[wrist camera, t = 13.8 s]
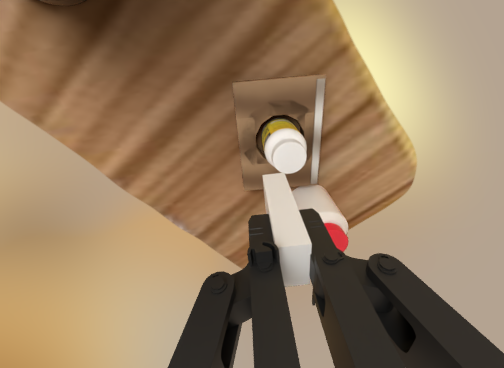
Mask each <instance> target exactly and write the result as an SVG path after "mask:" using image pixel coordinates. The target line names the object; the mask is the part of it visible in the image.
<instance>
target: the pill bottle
mask: <svg viewBox="0 0 504 368" xmlns="http://www.w3.org/2000/svg"><path fill="white" fill-rule="evenodd" d="M292 194H293V197H294V199H295V202H296V204H297V207H298V210H301V209H310V208H313V209H314V210H315V211H316V212H318V213H319V215H320V217H321V219H322V221H323V223H324V225H325V226H326V228H327V230H328V232H329V234H330V236H331V238H332V240H333V242H334V244H335V246H336V248H338V249H339V250H341V251H342V252H343V251H344V250H345V249H346V248H347V246H348V237H347V236H346V235H347V233H348V223H347V221H346V219H345V217H344V216H343V214H342V213H341V211H340V210H339V208H338V207H337V205H336V204H335V202H334V201H333V199H332V198H331V196H330V195H329V193H328V192H327V191H326V189H325V188H323V187H322V186H320V185H309V186H299V187H297V188H296V189H295V190H293V191H292Z"/></svg>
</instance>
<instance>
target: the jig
mask: <svg viewBox="0 0 504 368" xmlns="http://www.w3.org/2000/svg"><path fill="white" fill-rule="evenodd" d="M232 85H233V94H234V104H235V113H236V122H237V131H238V140H239V149H240V158H241V168H242V177H243V186H244V191H249V190H261V189H264V186H263V176H262V175H267V174H276V173H282V172H280V171H278V170H277V169H276V168H275V167H274V166H272V165H271V164H270V163H269V162H268V161H267V159H266V156H265V153H263V152H262V151H261V150H260V149H259V147H258V146H257V144H256V134H257V132H258V130H259V128H260V126H261V124H262V123H263V122H265V121H266V120H268V119H269V118H271V117H272V116H277V115H288V116H290V117H292V118H294V119H296V121H297V122H298V124H299V126H300V133H301V134H302V135H303V137H304V139H305V141H306V145H307V150H306V154H307V158H306V162H305V164H304V166H303V167H302V168H301V169H300V170H299V171H297V172H295V173H291V174H285V176H286V178H287V181H288V184H289V186H290V187H297V186H309V185H318V173H319V160H320V148H321V135H322V123H323V110H324V98H325V85H326V75H323V74H317V75H305V76H294V77H282V78H271V79H259V80H248V81H236V82H233V83H232Z"/></svg>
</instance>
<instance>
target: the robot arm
mask: <svg viewBox="0 0 504 368" xmlns="http://www.w3.org/2000/svg"><path fill="white" fill-rule="evenodd" d="M39 1H42V2H45V3H48V4H53V5H59V6H69V5H75V4H79V3H82V2H84V1H86V0H39ZM262 176H263V186H264V197H265V207H266V213H267V214H263V215H254V216H251V218H250V220H249V222H248V223H249V244H250V247H249V249H248V253H247V255H248V261H249V263H248V264H247V266H246V267H245V268H244V269H242V270H241V271H239V272H237V273H235V274H232V275H230V274H229V273H226V272H216V273H214V274H211V275H210V276H209V277H208V278H206V280H205V282H204V283H203V285H202V287H201V290H200V292H199V295H198V297H197V299H196V302H195V304H194V307H193V309H192V311H191V314H190V316H189V318H188V321H187V323H186V325H185V328H184V330H183V333H182V335H181V337H180V340H179V342H178V344H177V347H176V349H175V352H174V354H173V356H172V359H171V361H170V364H169V366H168V368H233V364H234V359H235V354H236V350H237V345H238V340H239V336H240V331H241V326H242V323H243V322H245V321H247V320H249V319H250V318H252V330H253V350H254V368H300V364H299V358H298V353H297V349H296V343H295V338H294V332H293V327H292V322H291V317H290V312H289V307H288V302H287V297H286V292H285V287H290V286H299V285H308V284H310V279H311V282H312V285H313V295H312V304H313V305H315V304H316V307H317V310H318V313H319V316H320V320H321V323H322V327H323V330H324V333H325V336H326V340H327V343H328V346H329V349H330V353H331V356H332V359H333V363H334V366H335V368H504V353H503V352H502V351H500V350H499V349H498V348H497V347H496V346H495V345H494V344H492V343H491V342H490V341H489V340H488V339H487V338H486V337H485V336H483V335H482V334H481V333H480V332H479V331H478V330H477V329H476V328H475V327H473V326H472V325H471V324H470V323H469V322H468V321H467V320H466V319H464V318H463V317H462V316H461V315H460V314H459V313H457V311H455V310H454V309H453V308H452V307H451V306H450V305H449V304H448V303H446V302H445V301H444V300H443V299H442V298H441V297H440V296H439V295H437V294H436V293H435V292H434V291H433V290H432V289H431V288H430V287H428V286H427V285H426V284H425V283H424V282H423V281H421V279H419V278H418V277H417V276H416V275H415V274H414V273H413V272H411V271H410V270H409V269H408V268H407V267H406V266H405V265H404V264H402V263H401V262H400V261H399V260H397V259H396V258H394V257H392V256H390V255H387V254H381V253H379V254H374V255H372V256H370V258H369V260H363V259H356V258H351V257H349V256H346V255H345V254H344V253H343V252H342V251H341V250H339V249H338V248H336V246H335V244H334V242H333V240H332V238H331V236H330V234H329V232H328V230H327V228H326V226H325V225H324V223H323V221H322V219H321V217H320V215H319V213H318V212H316V211H315V210H314V209H313V208H310V209H301V210H298V207H297V204H296V202H295V199H294V197H293V194H292V191H291V189H290V186H289V184H288V181H287V178H286V176H285V173H276V174H267V175H262Z"/></svg>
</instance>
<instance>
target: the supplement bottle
mask: <svg viewBox="0 0 504 368" xmlns="http://www.w3.org/2000/svg"><path fill="white" fill-rule="evenodd" d="M261 139H262V144H263V148H264V153H265V156H266V159H267V161H268V162H269V163H270V164H271V165H272V166H274V167H275V168H276V169H277V170H278V171H280V172H282V173H285V174H291V173H295V172H297V171H299V170H300V169H301V168H302V167H303V166H304V164H305V162H306V158H307V154H306V150H307V145H306V141H305V139H304V137H303V135H302V134H301V133H300V132H299V131H298V129H297V128H296V127H295V126H294V125H293V123H292V122H290V121H289V120H287V119H285V118H275V119H272V120H270V121H269V122H268V123H267V124H266V125H265V126H264V128H263V130H262V134H261Z"/></svg>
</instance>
